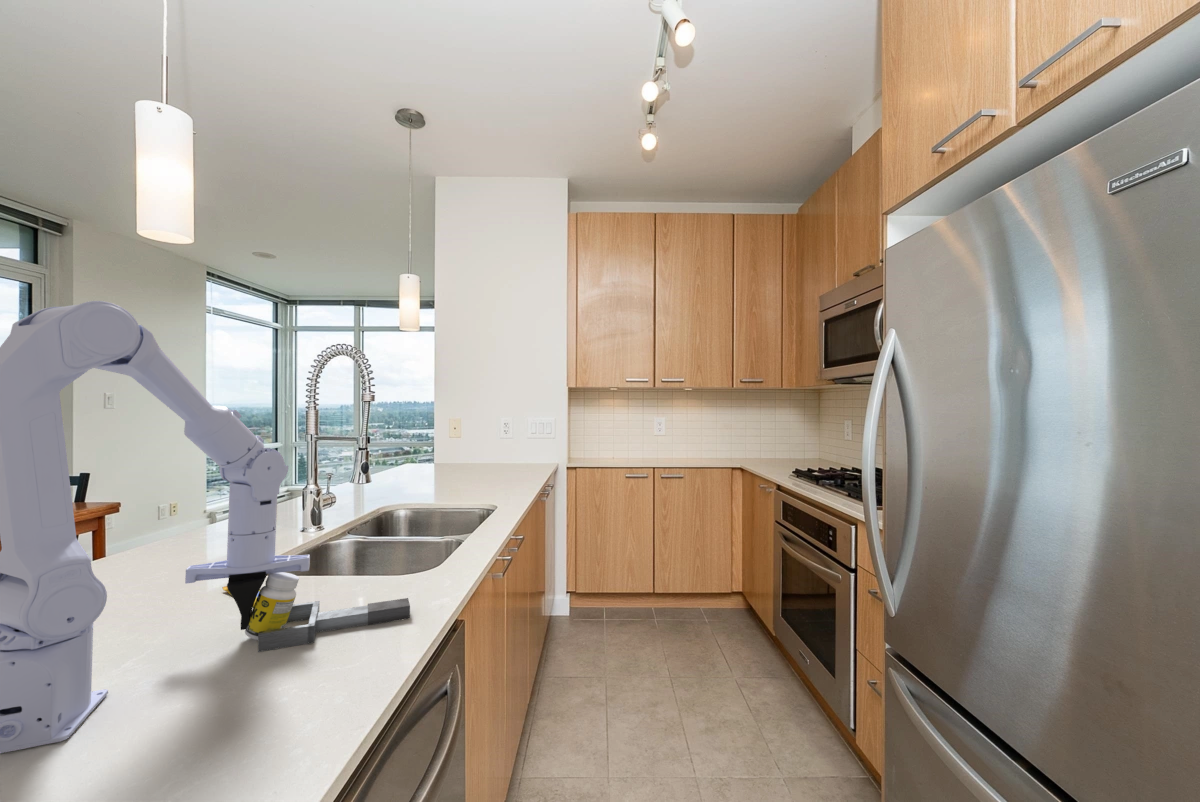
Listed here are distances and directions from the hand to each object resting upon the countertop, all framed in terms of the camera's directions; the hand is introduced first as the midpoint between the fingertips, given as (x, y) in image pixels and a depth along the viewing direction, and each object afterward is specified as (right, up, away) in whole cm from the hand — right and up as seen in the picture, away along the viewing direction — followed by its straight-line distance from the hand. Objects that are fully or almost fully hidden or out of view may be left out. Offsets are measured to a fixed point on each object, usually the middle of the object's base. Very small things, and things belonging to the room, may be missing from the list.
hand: (248, 626), depth 72 cm
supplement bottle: (+2, -2, 0) cm, 2 cm away
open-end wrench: (+11, -2, +5) cm, 12 cm away
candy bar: (-10, -3, +15) cm, 18 cm away
